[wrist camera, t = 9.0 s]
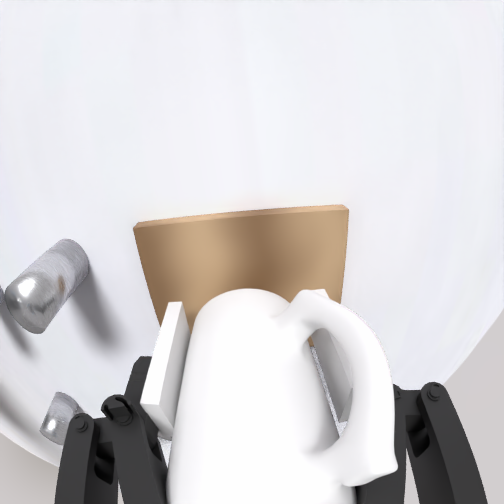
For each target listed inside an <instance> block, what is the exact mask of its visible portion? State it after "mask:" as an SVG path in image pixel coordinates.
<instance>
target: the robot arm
mask: <svg viewBox="0 0 504 504" xmlns="http://www.w3.org/2000/svg"><path fill="white" fill-rule="evenodd" d="M311 291H314V292H316V293H318V294H321V295H323V296H325V297H327V298H329V297H328V295H327V293H326V291H325V289H317V290H311ZM311 338H312V341H313V344H314V347H315V350H316V353H317V356H318V359H319V362H320V365H321V368H322V371H323V374H324V377H325V380H326V383H327V386H328V390H329V393H330V396H331V399H332V402H333V405H334V409H335V412H336V415H337V418H338V421H339V423H340V422H345V421H348V419H349V416H350V411H351V406H352V397H353V381H352V373H351V368H350V365H349V361H348V359H347V356H346V354H345V352H344V350H343V348H342V347H341V345H340V344H339V342H338V341H337V340H336V339H335V337H334V336H333V335H332V334H331V333H330V332H329V331H328V330H326V329H325V328H319V329H317V330H316V331H314V332H313V333H312V335H311ZM190 339H191V334H190V330H189V326H188V322H187V319H186V315H185V311H184V307H183V303H182V302H169V303H168V306H167V309H166V312H165V316H164V319H163V322H162V325H161V329H160V332H159V335H158V339H157V342H156V345H155V349H154V352H153V356H152V357H150V356H140V357H139V359H138V360H137V361H136V362H135V363H134V366H133V369H132V372H131V375H130V378H129V381H128V384H127V388H126V391H125V394H124V396H123V395H113V396H110V397H108V398H107V399H106V400H105V401H104V402H103V404H102V407H101V411H102V412H103V413H104V414H105V416H106V417H104V418H97V419H93V418H92V417H91V416H89V415H88V414H85V413H80V414H77V415H75V416H74V417H73V418H72V419H71V420H70V422H69V425H68V429H67V433H66V438H65V442H64V447H63V451H62V457H61V462H60V467H59V473H58V480H57V486H56V495H55V504H118V479H119V484H120V489H121V493H122V497H123V501H124V504H167V497H166V479H167V471H168V469H167V465H166V462H165V459H164V455H163V452H162V448H161V444H160V442H159V440H158V438H157V437H158V431H159V432H160V433H161V435H162V436H173V431H174V425H175V419H176V413H177V407H178V401H179V396H180V390H181V385H182V379H183V373H184V368H185V363H186V357H187V352H188V347H189V343H190ZM393 391H394V409H395V421H394V454H395V457H396V461H397V464H398V468H397V470H396V471H395V472H393V473H391V474H388V475H384V476H381V477H378V478H376V479H374V480H373V481H370V482H368V483H366V484H363V485H359V486H355V490H356V497H357V504H404V494H405V480H406V448H407V451H408V455H409V459H410V463H411V467H412V471H413V475H414V479H415V484H416V488H417V492H418V497H419V503H420V504H488V503H487V499H486V495H485V491H484V487H483V484H482V480H481V478H480V474H479V471H478V467H477V464H476V462H475V458H474V456H473V453H472V450H471V447H470V444H469V442H468V439H467V437H466V434H465V431H464V429H463V427H462V424H461V422H460V419H459V417H458V415H457V412H456V410H455V408H454V405H453V403H452V401H451V399H450V397H449V394H448V392H447V390H446V389H445V387H444V386H443V385H441V384H440V383H436V382H429V383H427V384H425V385H424V386H423V387H422V389H421V390H402V389H400V388H399V386H397V385H395V384H393Z"/></svg>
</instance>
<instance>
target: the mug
mask: <svg viewBox="0 0 504 504" xmlns="http://www.w3.org/2000/svg"><path fill="white" fill-rule="evenodd" d="M319 328H325V329H326V330H328V331H329V332H330V333H331V334H332V335H333V336H334V337H335V339H336V340H337V341H338V342H339V344H340V345H341V347H342V348H343V350H344V352H345V354H346V356H347V359H348V361H349V365H350V368H351V373H352V381H353V397H352V406H351V411H350V416H349V419H348V422H347V425H346V427H345V429H344V431H343V433H342V435H341V436H340V437H339V434H338V431H337V428H336V425H335V421H334V418H333V415H332V412H331V409H330V406H329V403H328V400H327V397H326V394H325V391H324V388H323V385H322V382H321V379H320V376H319V373H318V370H317V366H316V363H315V360H314V357H313V354H312V351H311V348H310V345H309V342H308V340H307V339H308V338H309V337H310V336H311V335H312V333H313V332H314V331H316V330H317V329H319ZM394 421H395V409H394V391H393V383H392V376H391V371H390V367H389V363H388V360H387V357H386V354H385V351H384V349H383V347H382V344H381V342H380V341H379V339H378V337H377V335H376V334H375V333H374V331H373V330H372V328H371V327H370V326H369V325H368V324H367V323H366V322H365V321H364V320H363V319H362V318H361V317H360V316H359V315H358V314H357V313H355V312H354V311H352V310H351V309H349V308H347V307H345V306H343V305H341V304H339V303H337V302H335V301H333V300H331V299H329V298H327V297H325V296H323V295H321V294H318V293H316V292H314V291H311V290H307V289H306V290H302V291H300V292H299V293H298V294H297V295H296V296H295V298H294V299H293V300H292V302H291V303H289V302H288V301H286V300H285V299H284V298H282V297H281V296H279V295H277V294H274V293H272V292H269V291H265V290H260V289H237V290H232V291H228V292H225V293H223V294H220V295H218V296H216V297H214V298H213V299H211V300H210V301H209V302H207V303H206V304H205V305H204V306H203V307H202V309H201V310H200V311H199V313H198V315H197V317H196V319H195V322H194V326H193V330H192V334H191V339H190V343H189V347H188V352H187V357H186V363H185V368H184V373H183V379H182V385H181V390H180V396H179V401H178V407H177V413H176V419H175V425H174V431H173V437H172V444H171V450H170V457H169V464H168V471H167V479H166V497H167V504H357V497H356V490H355V486H359V485H363V484H366V483H368V482H370V481H373V480H374V479H376V478H378V477H381V476H384V475H388V474H391V473H393V472H395V471H396V470H397V468H398V464H397V461H396V457H395V454H394Z"/></svg>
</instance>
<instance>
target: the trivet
mask: <svg viewBox="0 0 504 504" xmlns="http://www.w3.org/2000/svg"><path fill="white" fill-rule="evenodd" d="M348 217H349V209H347V208H346V207H345V206H344V205H326V206H308V207H292V208H277V209H264V210H251V211H239V212H228V213H217V214H207V215H197V216H188V217H179V218H170V219H162V220H153V221H145V222H138V223H137V224H136V226H135V227H134V228H133V231H134V235H135V240H136V244H137V248H138V252H139V256H140V260H141V264H142V268H143V271H144V275H145V279H146V282H147V286H148V289H149V293H150V296H151V299H152V302H153V306H154V309H155V312H156V315H157V318H158V321H159V324H160V327H161V325H162V322H163V319H164V316H165V312H166V309H167V306H168V303H169V302H182V303H183V307H184V311H185V315H186V319H187V322H188V326H189V330H190V334H192V330H193V326H194V322H195V319H196V317H197V315H198V313H199V311H200V310H201V309H202V307H203V306H204V305H205V304H206V303H207V302H209V301H210V300H211V299H213V298H214V297H216V296H218V295H220V294H223V293H225V292H228V291H232V290H237V289H260V290H265V291H269V292H272V293H274V294H277V295H279V296H281V297H282V298H284V299H285V300H286V301H288V302H289V303H291V302H292V300H293V299H294V298H295V296H296V295H297V294H298V293H299V292H300V291H302V290H306V289H307V290H317V289H325V291H326V293H327V295H328V297H329V299H331V300H333V301H335V302H337V303H339V304H340V303H341V295H342V287H343V278H344V269H345V258H346V247H347V233H348ZM307 340H308V342H309V345H310V347H312V346H314V344H313V341H312V338H311V336H310V337H309V338H308V339H307Z"/></svg>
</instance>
